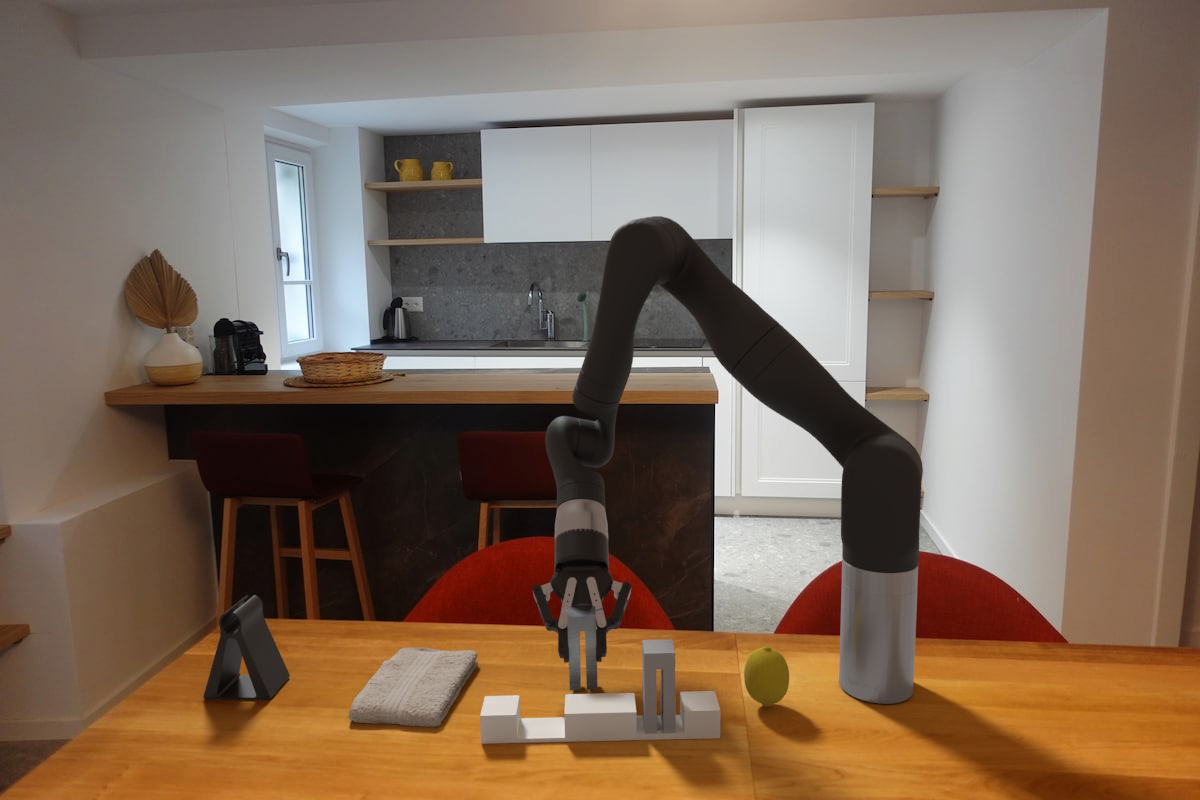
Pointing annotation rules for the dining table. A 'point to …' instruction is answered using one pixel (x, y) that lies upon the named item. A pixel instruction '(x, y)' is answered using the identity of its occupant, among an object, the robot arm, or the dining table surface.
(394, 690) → the washcloth
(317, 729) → the dining table surface
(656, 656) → the rail
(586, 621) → the grey slotted block
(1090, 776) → the dining table surface
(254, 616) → the phone stand
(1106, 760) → the dining table surface
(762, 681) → the lemon
